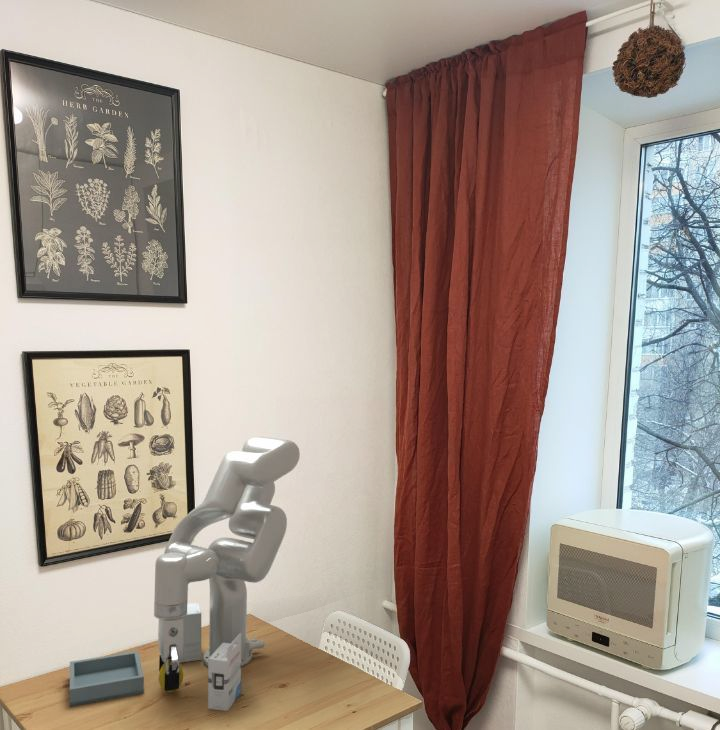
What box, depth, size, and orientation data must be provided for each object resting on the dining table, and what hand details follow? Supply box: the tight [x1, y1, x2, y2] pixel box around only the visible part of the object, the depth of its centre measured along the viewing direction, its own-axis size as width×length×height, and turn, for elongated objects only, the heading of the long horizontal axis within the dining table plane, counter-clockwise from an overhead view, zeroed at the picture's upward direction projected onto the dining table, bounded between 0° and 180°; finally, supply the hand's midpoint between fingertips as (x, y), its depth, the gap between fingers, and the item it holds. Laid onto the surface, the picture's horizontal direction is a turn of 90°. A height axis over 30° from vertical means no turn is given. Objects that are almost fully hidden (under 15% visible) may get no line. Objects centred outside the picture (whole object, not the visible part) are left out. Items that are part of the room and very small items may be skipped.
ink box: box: [207, 633, 242, 712], centre depth 156 cm, size 9×5×15 cm, turn 168°
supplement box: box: [178, 602, 202, 664], centre depth 178 cm, size 7×7×13 cm
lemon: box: [158, 663, 184, 694], centre depth 159 cm, size 6×6×8 cm
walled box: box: [69, 650, 145, 708], centre depth 162 cm, size 16×14×4 cm
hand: (168, 680), depth 159 cm, fingers open, 9 cm apart
